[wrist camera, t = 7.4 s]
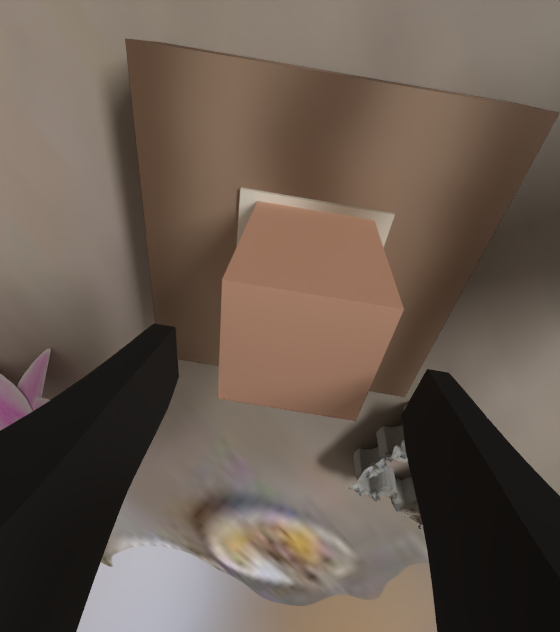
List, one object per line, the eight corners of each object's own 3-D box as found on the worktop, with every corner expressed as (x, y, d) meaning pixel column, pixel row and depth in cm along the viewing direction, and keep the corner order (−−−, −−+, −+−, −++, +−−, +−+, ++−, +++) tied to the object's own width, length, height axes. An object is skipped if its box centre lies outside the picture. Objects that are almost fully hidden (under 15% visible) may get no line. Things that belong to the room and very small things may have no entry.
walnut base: (516, 103, 13) (562, 113, 11) (395, 359, 22) (405, 399, 19) (160, 42, 13) (122, 38, 11) (176, 323, 22) (157, 358, 19)
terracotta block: (374, 220, 13) (403, 309, 9) (345, 313, 16) (355, 420, 11) (257, 200, 13) (221, 279, 9) (248, 297, 16) (217, 398, 11)
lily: (149, 356, 25) (7, 412, 17) (141, 490, 28) (15, 598, 19) (37, 319, 29) (-126, 348, 21) (40, 439, 32) (-103, 510, 23)
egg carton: (409, 483, 31) (419, 533, 27) (337, 454, 29) (338, 504, 26) (508, 422, 25) (536, 477, 21) (424, 382, 23) (440, 436, 20)
